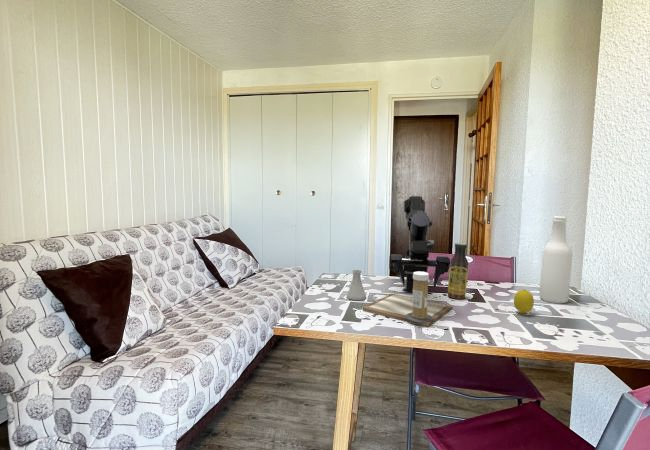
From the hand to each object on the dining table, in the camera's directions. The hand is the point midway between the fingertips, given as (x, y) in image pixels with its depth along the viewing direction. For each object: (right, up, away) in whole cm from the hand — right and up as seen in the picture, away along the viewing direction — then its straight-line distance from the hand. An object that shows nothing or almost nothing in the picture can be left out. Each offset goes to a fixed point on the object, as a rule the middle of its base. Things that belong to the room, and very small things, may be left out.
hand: (419, 286), depth 110 cm
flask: (-18, -8, +19) cm, 27 cm away
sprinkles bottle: (-1, -9, -3) cm, 9 cm away
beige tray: (-2, -9, +6) cm, 11 cm away
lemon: (+34, -9, +3) cm, 35 cm away
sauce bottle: (+19, -8, +20) cm, 29 cm away
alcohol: (+53, -8, +18) cm, 56 cm away
